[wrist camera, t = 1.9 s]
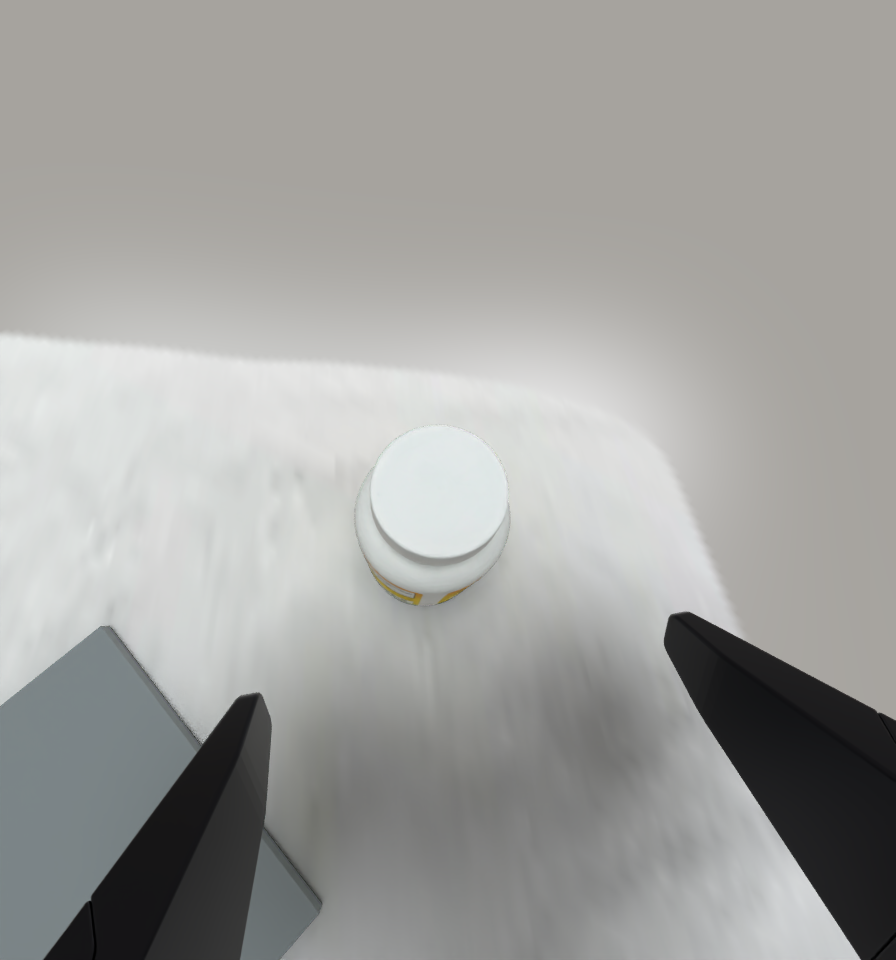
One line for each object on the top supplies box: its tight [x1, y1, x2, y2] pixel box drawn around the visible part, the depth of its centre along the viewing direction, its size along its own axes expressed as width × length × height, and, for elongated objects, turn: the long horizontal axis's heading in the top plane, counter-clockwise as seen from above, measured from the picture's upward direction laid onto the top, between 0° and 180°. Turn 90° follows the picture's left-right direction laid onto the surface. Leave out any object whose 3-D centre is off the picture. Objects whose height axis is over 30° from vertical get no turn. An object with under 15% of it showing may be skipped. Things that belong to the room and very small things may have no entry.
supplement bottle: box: [355, 425, 510, 606], centre depth 17 cm, size 5×5×10 cm
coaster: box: [0, 626, 322, 960], centre depth 16 cm, size 14×14×1 cm
